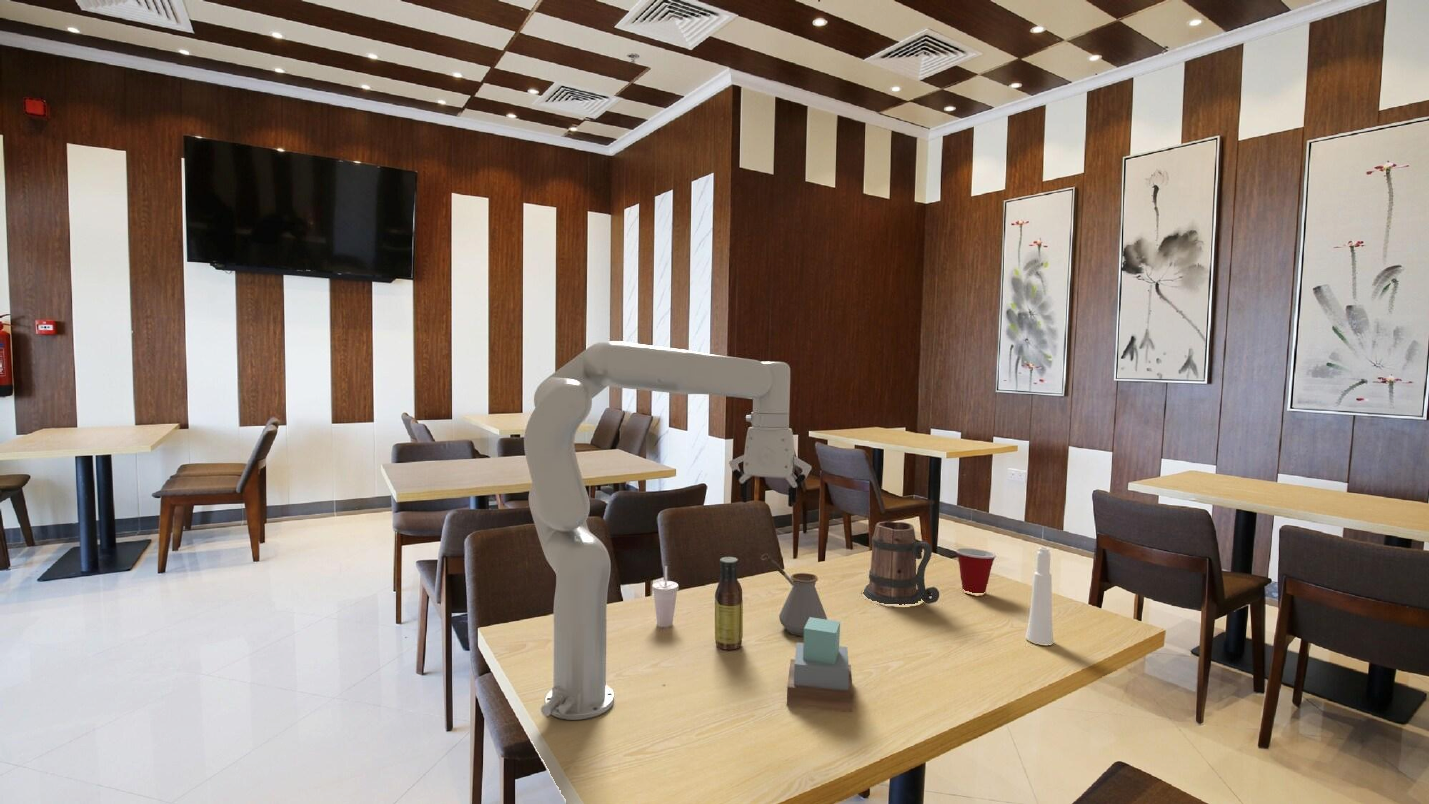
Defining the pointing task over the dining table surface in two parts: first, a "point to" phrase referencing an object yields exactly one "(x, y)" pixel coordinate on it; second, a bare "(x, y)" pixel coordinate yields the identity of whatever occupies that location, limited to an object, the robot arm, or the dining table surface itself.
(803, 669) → the top block
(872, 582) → the tankard
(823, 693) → the bottom block
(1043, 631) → the cosmetic bottle
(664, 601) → the smoothie
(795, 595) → the coffee pot
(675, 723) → the dining table surface
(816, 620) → the teal cube
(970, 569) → the plastic cup
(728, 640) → the sauce bottle
